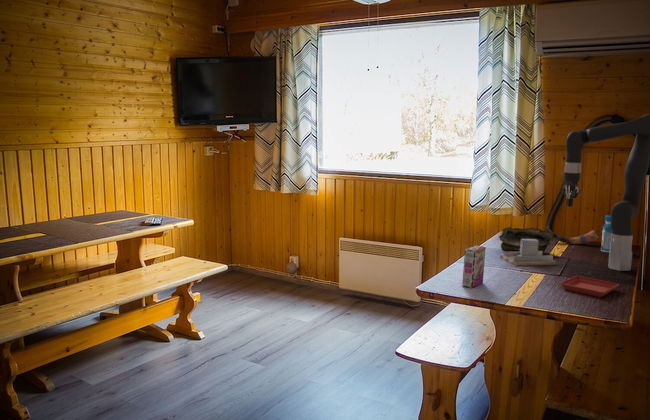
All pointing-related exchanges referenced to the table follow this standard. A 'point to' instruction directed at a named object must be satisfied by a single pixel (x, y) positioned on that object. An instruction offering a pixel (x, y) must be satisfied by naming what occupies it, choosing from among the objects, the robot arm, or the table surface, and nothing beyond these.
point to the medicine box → (529, 247)
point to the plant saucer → (589, 286)
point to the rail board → (528, 262)
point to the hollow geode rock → (514, 236)
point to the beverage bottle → (606, 234)
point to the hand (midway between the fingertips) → (569, 206)
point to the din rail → (540, 257)
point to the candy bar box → (473, 266)
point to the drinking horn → (576, 238)
